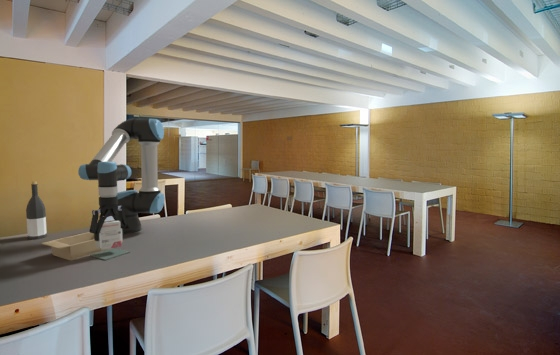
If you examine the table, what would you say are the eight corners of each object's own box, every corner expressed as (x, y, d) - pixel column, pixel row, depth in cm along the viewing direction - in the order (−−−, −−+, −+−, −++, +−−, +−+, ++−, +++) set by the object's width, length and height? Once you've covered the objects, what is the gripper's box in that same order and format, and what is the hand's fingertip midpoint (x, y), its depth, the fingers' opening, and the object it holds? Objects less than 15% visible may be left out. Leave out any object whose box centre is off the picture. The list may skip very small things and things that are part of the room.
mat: (114, 248, 154) (114, 247, 154) (129, 252, 149) (129, 251, 149) (90, 255, 143) (90, 255, 143) (105, 260, 138) (105, 259, 138)
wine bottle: (28, 240, 165) (24, 182, 162) (27, 236, 171) (24, 181, 168) (47, 237, 170) (44, 181, 167) (46, 234, 176) (43, 180, 173)
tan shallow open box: (105, 240, 166) (104, 228, 166) (123, 245, 159) (123, 232, 159) (42, 257, 141) (41, 243, 140) (61, 263, 134) (60, 248, 133)
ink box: (119, 244, 150) (118, 219, 149) (121, 246, 147) (120, 221, 146) (98, 247, 145) (97, 221, 144) (100, 250, 141) (99, 223, 140)
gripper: (124, 192, 155) (126, 237, 157) (78, 198, 136) (80, 249, 138) (135, 193, 151) (136, 239, 154) (88, 200, 132) (90, 252, 134)
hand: (109, 244), depth 146 cm, fingers closed on ink box, 9 cm apart
